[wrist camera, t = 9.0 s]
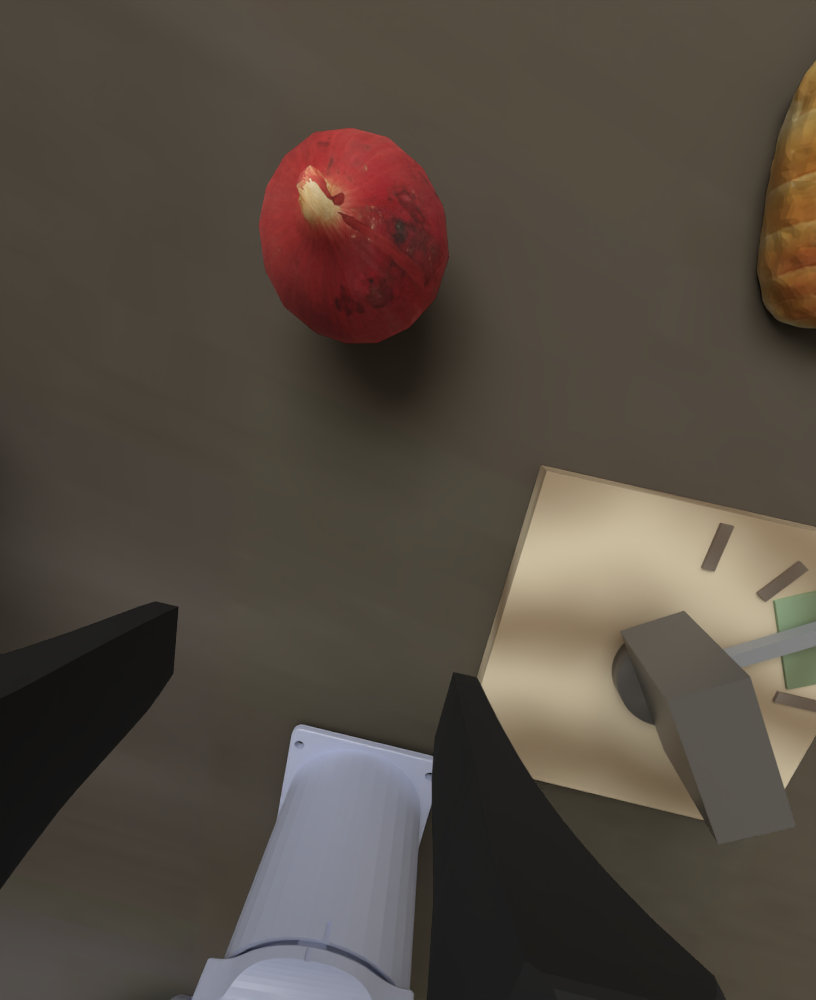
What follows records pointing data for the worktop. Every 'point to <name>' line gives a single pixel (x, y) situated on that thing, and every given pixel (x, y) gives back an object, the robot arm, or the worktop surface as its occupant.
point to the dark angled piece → (710, 718)
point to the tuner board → (633, 601)
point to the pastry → (792, 215)
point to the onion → (353, 236)
